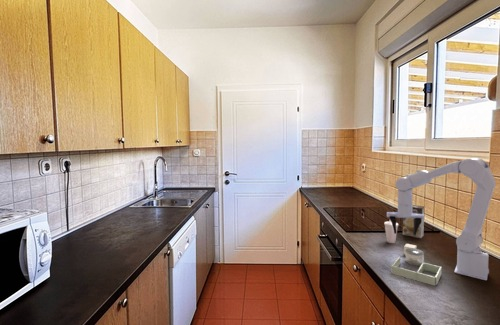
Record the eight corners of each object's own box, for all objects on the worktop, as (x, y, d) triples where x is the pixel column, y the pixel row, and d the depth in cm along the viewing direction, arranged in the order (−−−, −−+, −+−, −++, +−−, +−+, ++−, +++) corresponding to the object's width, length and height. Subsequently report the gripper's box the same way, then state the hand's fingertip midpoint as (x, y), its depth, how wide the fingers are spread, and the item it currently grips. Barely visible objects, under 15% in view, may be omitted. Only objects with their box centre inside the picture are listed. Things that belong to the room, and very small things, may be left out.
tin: (425, 262, 115) (425, 251, 114) (421, 267, 110) (422, 256, 110) (407, 257, 119) (407, 247, 119) (403, 262, 114) (403, 251, 114)
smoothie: (385, 238, 143) (386, 212, 142) (399, 241, 139) (399, 214, 138) (382, 242, 138) (382, 215, 137) (396, 245, 134) (397, 217, 133)
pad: (439, 274, 104) (439, 273, 104) (434, 284, 97) (434, 284, 96) (423, 270, 107) (424, 269, 107) (418, 280, 100) (418, 279, 100)
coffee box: (402, 234, 148) (402, 205, 147) (405, 231, 153) (405, 203, 152) (421, 238, 142) (422, 208, 141) (424, 235, 146) (424, 206, 145)
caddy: (441, 274, 104) (441, 266, 103) (436, 286, 96) (436, 277, 95) (399, 263, 114) (399, 256, 113) (391, 273, 106) (391, 265, 105)
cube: (416, 254, 123) (416, 245, 123) (414, 257, 120) (414, 248, 120) (406, 251, 126) (406, 243, 125) (403, 254, 123) (404, 246, 122)
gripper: (422, 203, 122) (421, 232, 123) (386, 201, 128) (386, 229, 129) (425, 206, 116) (425, 237, 117) (387, 204, 121) (387, 234, 122)
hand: (404, 233), depth 122 cm, fingers open, 7 cm apart
